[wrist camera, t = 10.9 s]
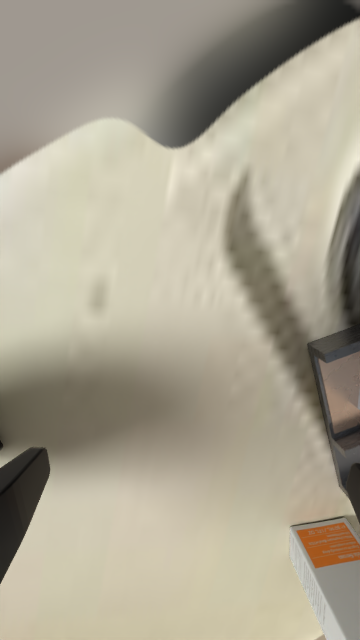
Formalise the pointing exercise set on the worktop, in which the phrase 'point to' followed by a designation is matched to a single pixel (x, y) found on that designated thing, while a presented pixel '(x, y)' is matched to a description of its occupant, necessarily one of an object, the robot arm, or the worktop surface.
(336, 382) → the compartment tray
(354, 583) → the skincare box
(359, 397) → the grey rectangular block
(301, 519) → the worktop surface
